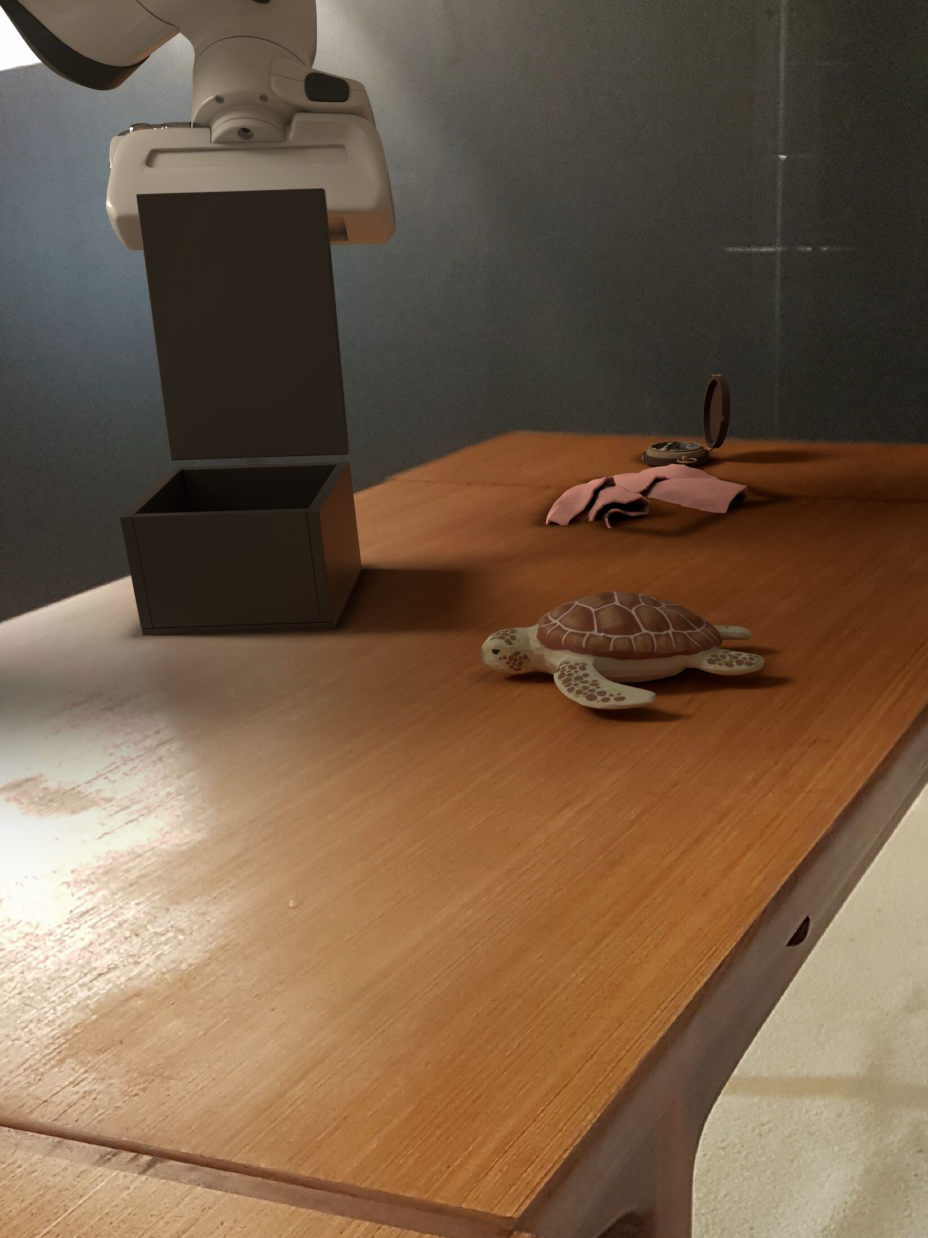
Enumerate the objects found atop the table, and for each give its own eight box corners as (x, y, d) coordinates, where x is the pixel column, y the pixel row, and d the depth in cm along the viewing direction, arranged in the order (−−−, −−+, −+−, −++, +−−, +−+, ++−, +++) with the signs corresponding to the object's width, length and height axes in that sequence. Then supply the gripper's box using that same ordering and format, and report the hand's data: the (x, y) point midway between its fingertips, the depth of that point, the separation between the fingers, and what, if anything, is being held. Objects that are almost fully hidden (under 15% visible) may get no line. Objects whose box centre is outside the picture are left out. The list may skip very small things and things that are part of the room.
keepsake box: (334, 634, 107) (318, 510, 103) (143, 640, 107) (119, 516, 103) (362, 573, 120) (349, 461, 116) (192, 579, 120) (172, 467, 116)
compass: (634, 458, 153) (632, 374, 149) (715, 452, 154) (715, 369, 150) (655, 475, 146) (654, 387, 142) (739, 469, 148) (740, 381, 144)
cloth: (697, 472, 147) (697, 443, 146) (822, 519, 131) (823, 487, 129) (487, 498, 140) (485, 468, 139) (590, 552, 123) (589, 518, 122)
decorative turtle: (483, 640, 105) (476, 560, 102) (738, 628, 106) (739, 548, 103) (481, 735, 90) (473, 644, 87) (779, 720, 90) (781, 630, 88)
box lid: (323, 187, 109) (325, 189, 109) (135, 193, 109) (138, 195, 109) (348, 454, 115) (349, 454, 116) (170, 460, 115) (173, 460, 116)
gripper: (96, 89, 115) (89, 259, 112) (386, 82, 115) (386, 251, 112) (124, 160, 121) (118, 322, 118) (399, 153, 121) (399, 315, 118)
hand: (251, 288), depth 115 cm, fingers closed
